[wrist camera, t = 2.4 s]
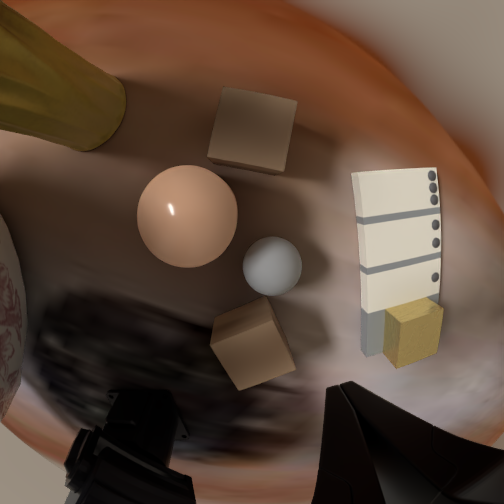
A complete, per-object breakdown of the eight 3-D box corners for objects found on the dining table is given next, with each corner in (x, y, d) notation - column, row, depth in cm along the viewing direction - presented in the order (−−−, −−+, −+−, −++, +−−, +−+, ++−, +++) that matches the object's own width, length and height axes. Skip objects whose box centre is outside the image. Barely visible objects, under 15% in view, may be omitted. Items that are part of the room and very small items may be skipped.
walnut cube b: (274, 175, 18) (283, 171, 14) (213, 164, 17) (206, 156, 14) (285, 119, 17) (297, 101, 13) (226, 107, 17) (223, 86, 13)
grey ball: (298, 279, 19) (310, 298, 16) (247, 288, 19) (248, 309, 16) (292, 228, 18) (304, 237, 15) (238, 237, 18) (238, 248, 15)
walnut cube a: (286, 338, 20) (296, 369, 16) (238, 358, 21) (238, 390, 17) (265, 294, 20) (272, 319, 16) (214, 316, 20) (209, 345, 16)
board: (427, 328, 21) (434, 334, 20) (360, 349, 21) (366, 357, 20) (427, 168, 18) (436, 167, 17) (350, 173, 18) (358, 172, 17)
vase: (142, 108, 16) (4, 5, 2) (82, 168, 17) (-87, 164, 3) (103, 61, 15) (-10, -30, 1) (49, 117, 16) (-88, 83, 2)
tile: (421, 338, 20) (436, 352, 17) (382, 352, 20) (396, 368, 17) (425, 296, 19) (443, 308, 16) (384, 308, 19) (401, 323, 16)
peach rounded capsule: (243, 240, 19) (245, 258, 14) (170, 253, 18) (148, 274, 14) (230, 165, 17) (228, 156, 13) (157, 180, 17) (129, 177, 13)
